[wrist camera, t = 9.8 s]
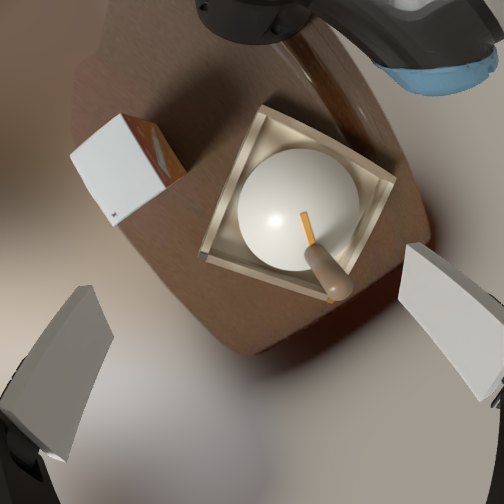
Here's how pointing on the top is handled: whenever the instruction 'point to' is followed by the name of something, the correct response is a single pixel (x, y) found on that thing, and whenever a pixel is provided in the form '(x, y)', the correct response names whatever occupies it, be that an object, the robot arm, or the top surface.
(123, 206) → the small box
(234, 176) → the dial housing
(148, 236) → the top surface
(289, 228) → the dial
